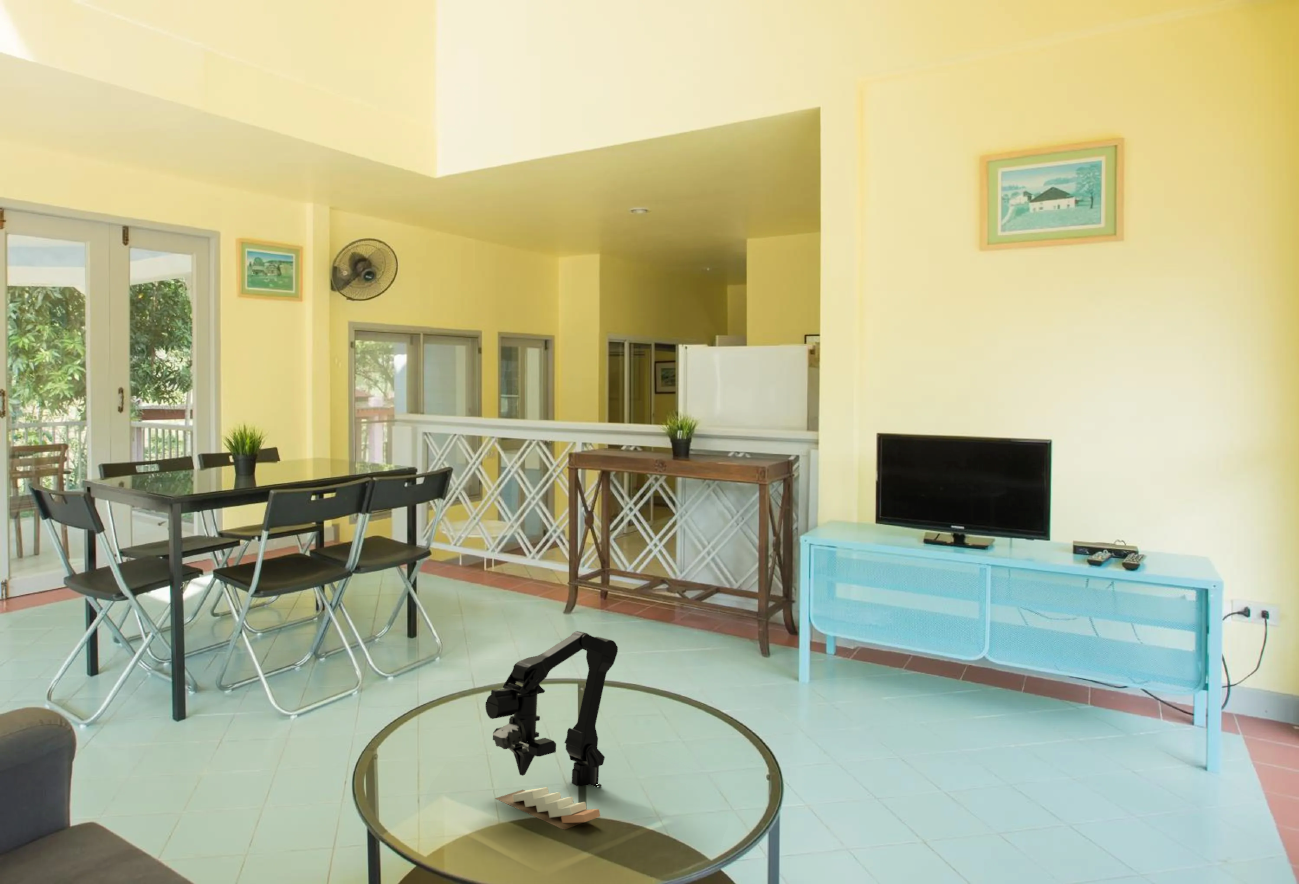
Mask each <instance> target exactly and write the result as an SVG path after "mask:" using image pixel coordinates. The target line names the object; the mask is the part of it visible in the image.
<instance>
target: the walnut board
mask: <svg viewBox="0 0 1299 884" xmlns="http://www.w3.org/2000/svg"><path fill="white" fill-rule="evenodd" d="M524 791H526V790H525V789H521V790H517V791H514V792H510V793H507V794H505V795H502V796H499V797H495V798H494V799H495V800H498V801H500V802H502V803H503V804H507V805H509V806H511V807H512V808H515V809H517V810H519V811H521V812H523V813H526V814H528V815H530V816H533V817H535V818H537V819H538V820H542V821H544V822H546V823H548V824H550V825H553V826H554V827H557V828H559V829H561V830H567V829H570V828H573V827H575V826H577V825H581V824H583V823H584V822H575V823H562V819H561V816H558V817H550V818H549V812H548V811H543V812H537V808H536V806H529V807H525V802H524V800H523V801H516V802H514V801H513V795H515V794H518V793H521V792H524Z"/></svg>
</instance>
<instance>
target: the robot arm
mask: <svg viewBox="0 0 1299 884" xmlns="http://www.w3.org/2000/svg"><path fill="white" fill-rule="evenodd" d="M618 649H619V647H618V645H617V644H616V642H615V641H614V640H612V639H609V638H604V637H601V636H600V637H599V636H592V635H590V634H589V633H587V632H584V631H583V632H582V631H578V630H576V631H574V632H572V633H571V635H570V636H567V638H565V639H562V640H561V641H560V642H557V643H556V644H555V645H553V646H552V647H550V648H548V649H547V650H546V651H544V652H542V653H541V654H538V655H535V656H529V657H526V658H524V659H521V660H519V661H516V662H515V664H514V665H513V668H512V670H511V673H510V674H509V675H508V677H507V679H506V680H505V682H504V684H503V685H502V688H500V689H498V688H495V689H491V691H490V694H489V696H488V697H487V699H486V701H485V703H484V704H485V712H486V714H487V716H488V717H489V719H491V720H493V719H499V718H505V717H510V718H509V719H508V724H506V725H503V726H501V727H497V728H495V729H494V731H493V733H492V741H494V742H495V743H494V744H495V746H496V747H500V748H502V749H503V750H508V749H509V750H510V751H511V752H512V753H513V756H514V758H515V762H516V766H517V769H518V773H519V776H525V775H526V773H527V771H528V770H529V768H530V766H531V763H532V762H533V759H534V758H535V757H544V756H547V755H551V754H554V753H556V751H557V743H556V741H554V740H552V739H550V738H547V737H542V738H540V732H539V731H537V730H536V729H537V722H540V721H541V720H540V719H541V717H540V715H537V714H538V713H537V711H538V709H537V707H538V695H541V694H544V693H545V692H546V690H545V689H544V688H543V687H542V686H541V685H540V684H541V683H542V682H543V681H544V680H545V679H547V677H548V675H549V673H550V671H552V670H553V669H554V668H555V667H558V666H559V665H560V664H562V663H563V662H565V661H566V660H568V659H569V658H571V657H573V656H574V655H575V654H577V653H578V652H580V651H581V650H583V651H586V658H585V659H586V663H587V667H588V671H587V677H586V682H585V686H584V691H583V695H582V700H581V705H580V709H579V714H578V719H577V721H576V724H575V725H574V726H573V727H572V728H571V727H568V729H567V731H566V734H567V735H566V738H565V740H564V743H563V744H565V750H566V753H568V755H569V760H570V761H573V768H572V770H571V784H573V785H575V786H576V787H577V786H579V787H580V786H592V787H594V786H595V788H597V786H602V784H601V783H599V776H600V775H599V773H600V772H599V771H600V766H603V765H604V761H605V758H606V757H605V755H604V754H603V753H602V752H601V751H600V750H599V749H598V743H599V737H598V732H597V728H596V724H597V719H598V715H599V709H600V704H601V701H602V695H603V690H604V685H605V680H606V676H607V673H608V672H609V670H610V669H611V668H612V666H613V665H614V663H615V661H616V658H617V655H618V653H619V652H618ZM536 738H537V739H536ZM598 783H599V784H598ZM596 784H598V785H596Z"/></svg>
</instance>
